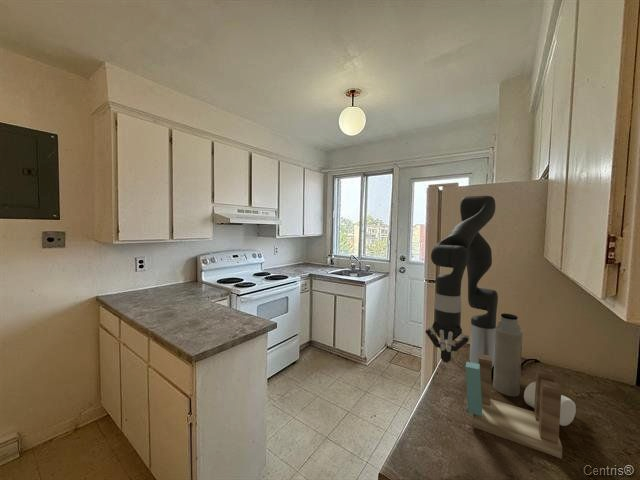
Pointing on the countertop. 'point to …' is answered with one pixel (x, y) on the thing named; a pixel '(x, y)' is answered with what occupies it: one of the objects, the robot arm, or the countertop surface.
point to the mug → (565, 409)
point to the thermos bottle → (507, 356)
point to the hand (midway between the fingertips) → (445, 361)
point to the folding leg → (473, 388)
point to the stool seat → (523, 413)
